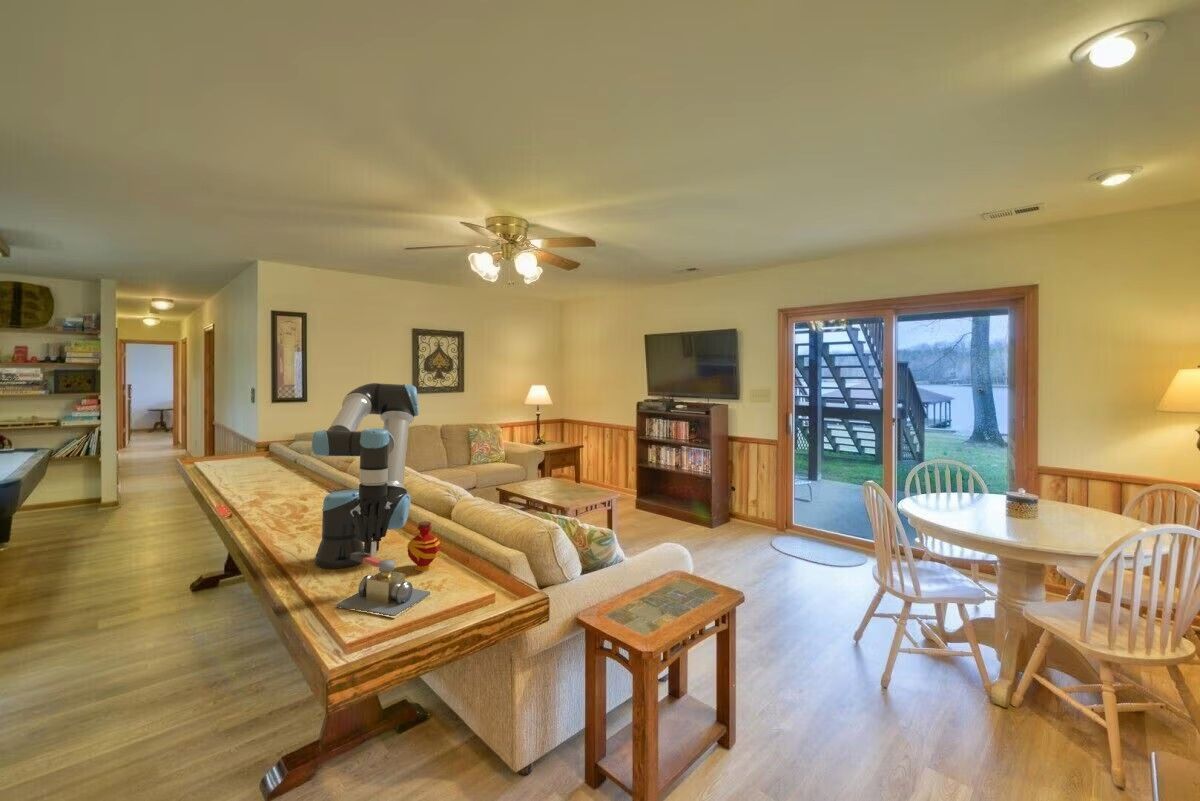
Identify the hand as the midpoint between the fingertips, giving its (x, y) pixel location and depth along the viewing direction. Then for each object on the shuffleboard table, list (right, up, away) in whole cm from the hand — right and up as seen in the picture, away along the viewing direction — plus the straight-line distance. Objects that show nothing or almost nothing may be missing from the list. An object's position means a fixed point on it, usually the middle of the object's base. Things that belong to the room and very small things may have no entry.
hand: (371, 562), depth 148 cm
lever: (+2, 0, -3) cm, 4 cm away
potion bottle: (+8, -8, +20) cm, 23 cm away
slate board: (+6, -9, -5) cm, 12 cm away
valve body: (+6, -9, -5) cm, 12 cm away
